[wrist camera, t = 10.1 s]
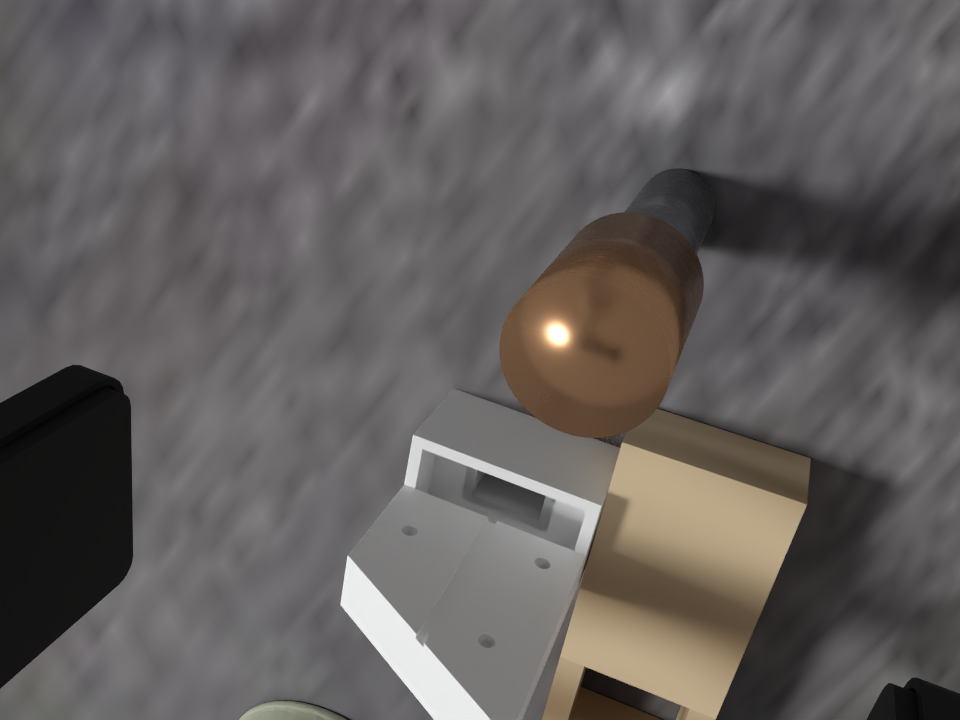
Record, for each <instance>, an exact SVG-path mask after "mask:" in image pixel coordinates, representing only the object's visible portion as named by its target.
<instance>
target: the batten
mask: <svg viewBox="0 0 960 720" xmlns="http://www.w3.org/2000/svg"><path fill="white" fill-rule="evenodd" d="M810 461H811V458H808V457H805V456H802V455H799V454H796V453H793V452H789V451H786V450H783V449H780V448H777V447H774V446H771V445H768V444H765V443H762V442H759V441H756V440H753V439H749V438H746V437H743V436H740V435H737V434H734V433H731V432H728V431H725V430H722V429H719V428H716V427H712V426H709V425H706V424H703V423H700V422H697V421H694V420H691V419H688V418H685V417H682V416H679V415H676V414H672V413H669V412H666V411H663V410H660V409H656V410H655V411H654V413H653V414H652V415H651V416H650V417H649V418H648V419H647V420H646V421H644V422H643V423H642V424H640V425H639V426H637V427H636V428H634V429H632V430H630V431H628V432H626V435H625V437H624V439H623V441H622V445H621V448H620V451H619V455H618V458H617V462H616V465H615V469H614V472H613V476H612V479H611V483H610V486H609V490H608V493H607V496H606V500H605V503H604V507H603V510H602V514H601V517H600V521H599V524H598V528H597V531H596V535H595V538H594V542H593V545H592V548H591V552H590V555H589V559H588V562H587V566H586V569H585V573H584V576H583V580H582V583H581V587H580V590H579V594H578V597H577V600H576V604H575V607H574V611H573V614H572V618H571V621H570V625H569V628H568V632H567V635H566V639H565V642H564V645H563V649H562V652H561V656H560V659H559V663H558V666H557V670H556V673H555V677H554V680H553V684H552V687H551V691H550V694H549V697H548V701H547V704H546V708H545V711H544V715H543V718H542V720H661V719H659V718H657V717H654V716H652V715H649V714H647V713H644V712H642V711H639V710H637V709H634V708H632V707H629V706H627V705H625V704H622V703H620V702H617V701H615V700H612V699H610V698H607V697H605V696H602V695H600V694H597V693H595V692H593V691H590V690H588V689H585V688H583V687H580V686H581V683H582V680H583V677H584V674H585V670H586V667H587V668H589V669H592V670H594V671H597V672H599V673H602V674H604V675H607V676H609V677H612V678H614V679H617V680H619V681H622V682H624V683H627V684H629V685H632V686H634V687H637V688H639V689H642V690H644V691H647V692H649V693H652V694H654V695H657V696H659V697H662V698H664V699H667V700H669V701H672V702H674V703H677V704H679V705H681V708H680V710H679V713H678V715H677V718H676V720H716V718H717V715H718V713H719V711H720V708H721V706H722V703H723V701H724V699H725V696H726V694H727V692H728V689H729V687H730V685H731V682H732V680H733V678H734V675H735V673H736V671H737V668H738V666H739V664H740V661H741V659H742V656H743V654H744V652H745V649H746V647H747V645H748V642H749V640H750V638H751V635H752V633H753V631H754V628H755V626H756V624H757V621H758V619H759V617H760V614H761V612H762V610H763V607H764V605H765V602H766V600H767V598H768V595H769V593H770V591H771V588H772V586H773V584H774V581H775V579H776V577H777V574H778V572H779V570H780V567H781V565H782V563H783V560H784V558H785V555H786V553H787V551H788V548H789V546H790V544H791V541H792V539H793V537H794V534H795V532H796V530H797V527H798V525H799V523H800V520H801V518H802V516H803V513H804V511H805V508H806V506H807V500H808V487H809V474H810Z"/></svg>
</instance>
